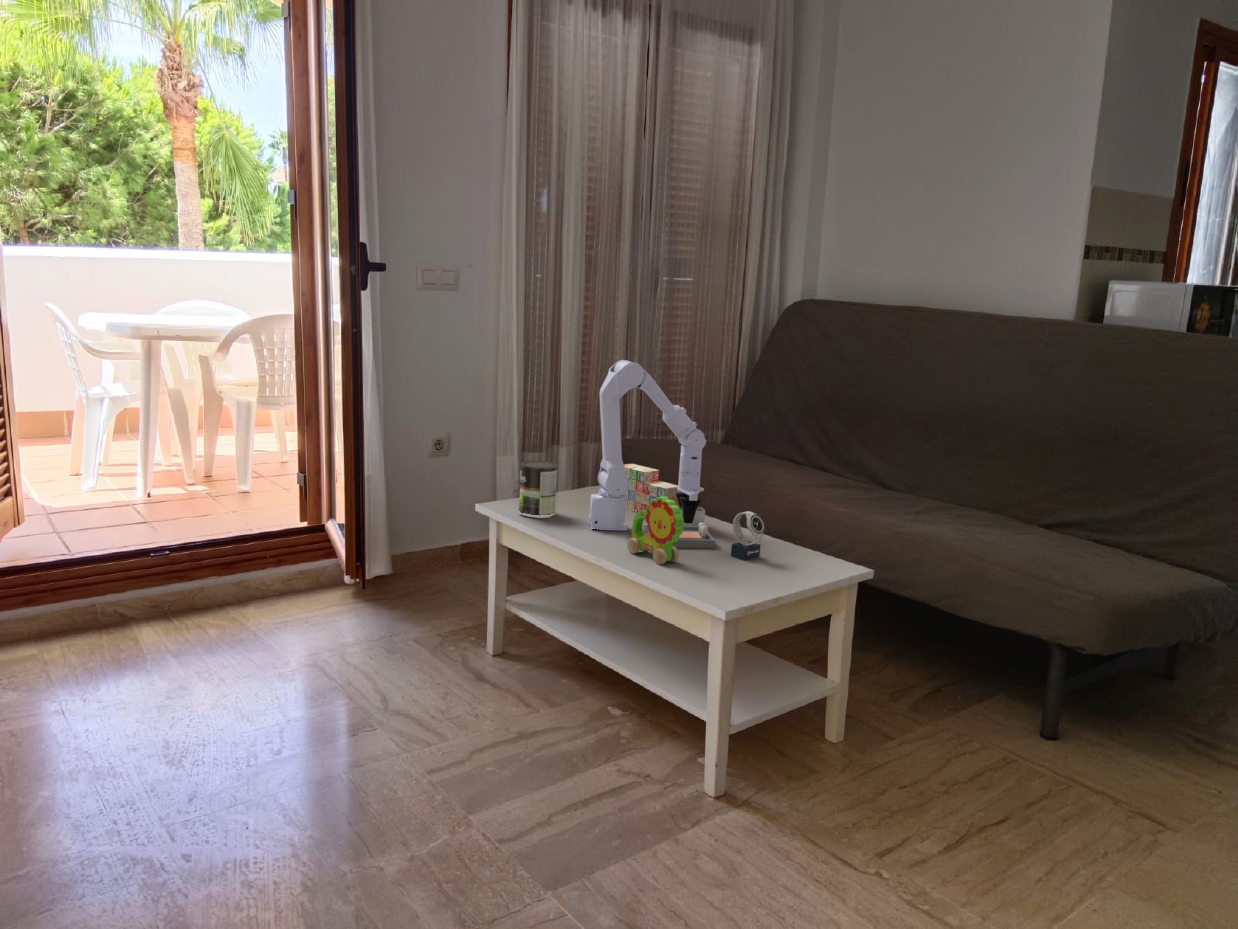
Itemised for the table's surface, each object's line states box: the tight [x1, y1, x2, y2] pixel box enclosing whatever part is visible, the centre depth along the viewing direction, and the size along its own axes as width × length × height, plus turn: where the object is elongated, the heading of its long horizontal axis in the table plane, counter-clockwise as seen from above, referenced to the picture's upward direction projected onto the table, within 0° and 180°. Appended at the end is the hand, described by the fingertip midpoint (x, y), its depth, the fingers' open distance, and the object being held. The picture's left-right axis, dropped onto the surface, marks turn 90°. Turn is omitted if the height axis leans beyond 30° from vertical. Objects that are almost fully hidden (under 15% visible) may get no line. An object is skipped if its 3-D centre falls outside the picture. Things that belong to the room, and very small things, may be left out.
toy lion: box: [626, 497, 683, 566], centre depth 214 cm, size 16×5×15 cm, turn 38°
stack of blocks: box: [624, 463, 681, 511], centre depth 262 cm, size 21×6×12 cm, turn 39°
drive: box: [679, 506, 706, 526], centre depth 248 cm, size 9×4×5 cm, turn 97°
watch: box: [730, 510, 766, 561], centre depth 220 cm, size 6×8×11 cm
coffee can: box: [518, 460, 559, 516], centre depth 252 cm, size 10×10×14 cm
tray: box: [642, 522, 716, 549], centre depth 233 cm, size 16×14×4 cm
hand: (686, 521), depth 248 cm, fingers closed on drive, 4 cm apart
